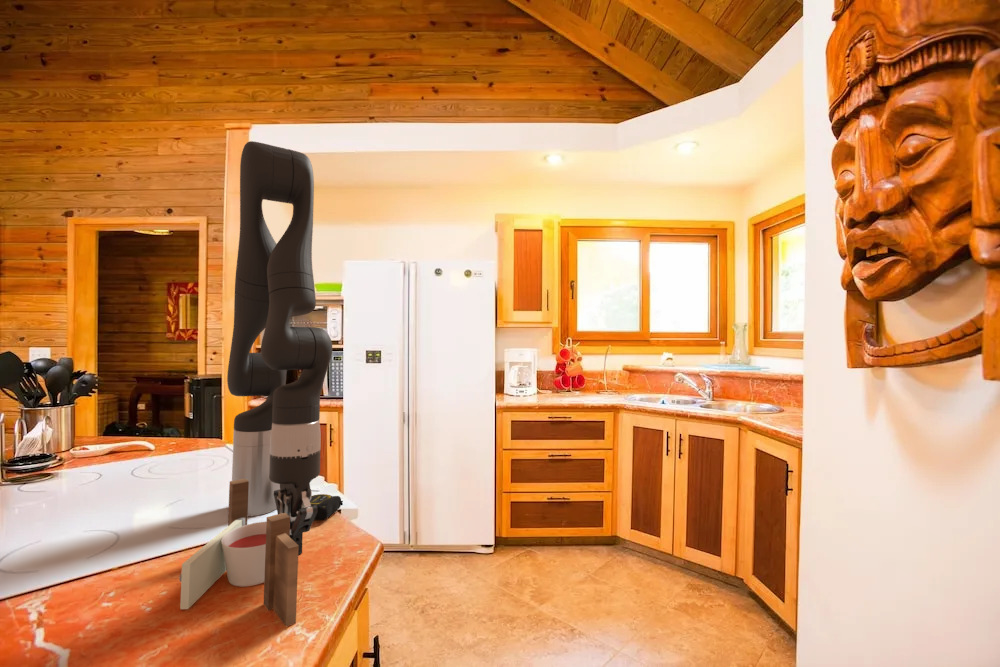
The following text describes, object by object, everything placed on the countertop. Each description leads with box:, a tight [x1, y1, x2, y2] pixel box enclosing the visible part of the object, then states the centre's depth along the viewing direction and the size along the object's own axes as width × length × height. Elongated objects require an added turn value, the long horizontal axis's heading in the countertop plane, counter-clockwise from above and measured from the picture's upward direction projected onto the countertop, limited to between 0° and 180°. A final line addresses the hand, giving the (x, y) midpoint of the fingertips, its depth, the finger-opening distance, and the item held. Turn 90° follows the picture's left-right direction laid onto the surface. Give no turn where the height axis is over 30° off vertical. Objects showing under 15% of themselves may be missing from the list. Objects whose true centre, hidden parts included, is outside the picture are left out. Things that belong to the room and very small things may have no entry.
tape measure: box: [310, 493, 344, 521], centre depth 89 cm, size 7×7×4 cm
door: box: [178, 518, 245, 610], centre depth 65 cm, size 15×3×6 cm, turn 6°
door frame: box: [227, 479, 299, 627], centre depth 65 cm, size 26×2×12 cm, turn 45°
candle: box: [221, 521, 267, 588], centre depth 67 cm, size 9×9×6 cm
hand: (293, 555), depth 70 cm, fingers closed
